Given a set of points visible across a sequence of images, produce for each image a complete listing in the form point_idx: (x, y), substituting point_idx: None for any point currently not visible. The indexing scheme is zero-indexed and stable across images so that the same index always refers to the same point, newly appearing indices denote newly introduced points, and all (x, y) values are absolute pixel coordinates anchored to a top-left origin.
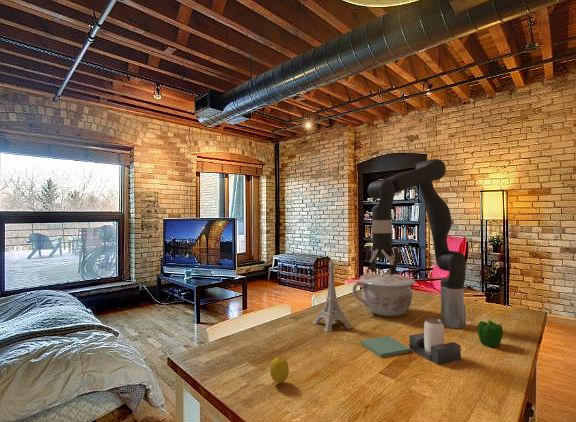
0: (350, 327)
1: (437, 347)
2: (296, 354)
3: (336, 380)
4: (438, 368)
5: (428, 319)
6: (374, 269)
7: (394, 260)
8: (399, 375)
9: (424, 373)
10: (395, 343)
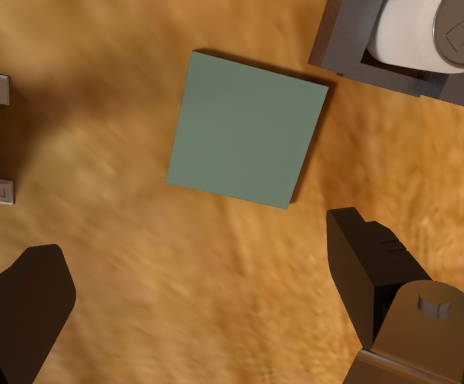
0: (7, 90)
1: (460, 87)
2: (130, 362)
3: (293, 361)
4: (447, 119)
5: (437, 9)
6: (54, 288)
7: (452, 364)
8: None
9: (427, 181)
10: (263, 95)
